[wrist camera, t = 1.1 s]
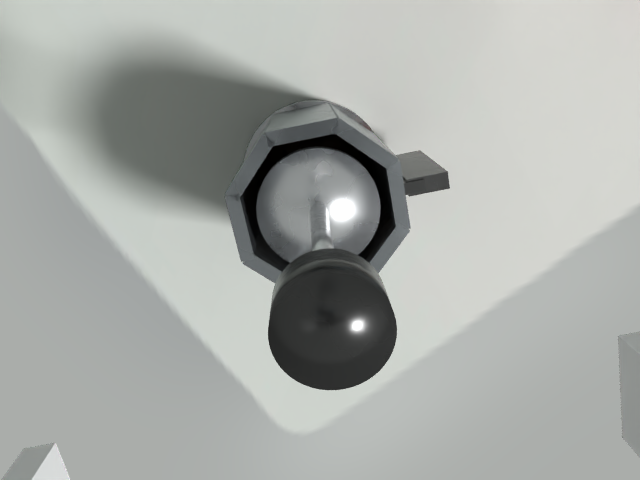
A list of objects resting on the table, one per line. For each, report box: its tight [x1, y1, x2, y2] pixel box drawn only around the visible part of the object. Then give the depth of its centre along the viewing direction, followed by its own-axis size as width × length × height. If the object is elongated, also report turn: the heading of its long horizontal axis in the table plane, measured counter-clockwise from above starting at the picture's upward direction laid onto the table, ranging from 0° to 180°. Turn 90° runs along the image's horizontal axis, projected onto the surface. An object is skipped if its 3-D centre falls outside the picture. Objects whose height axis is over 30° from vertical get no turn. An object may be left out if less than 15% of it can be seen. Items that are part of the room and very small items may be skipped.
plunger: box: [256, 146, 397, 390], centre depth 25 cm, size 7×7×16 cm
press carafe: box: [225, 100, 450, 283], centre depth 37 cm, size 11×13×12 cm
